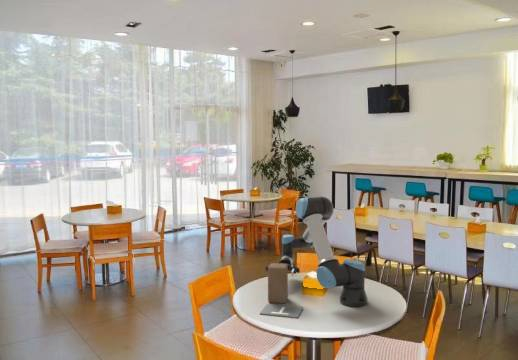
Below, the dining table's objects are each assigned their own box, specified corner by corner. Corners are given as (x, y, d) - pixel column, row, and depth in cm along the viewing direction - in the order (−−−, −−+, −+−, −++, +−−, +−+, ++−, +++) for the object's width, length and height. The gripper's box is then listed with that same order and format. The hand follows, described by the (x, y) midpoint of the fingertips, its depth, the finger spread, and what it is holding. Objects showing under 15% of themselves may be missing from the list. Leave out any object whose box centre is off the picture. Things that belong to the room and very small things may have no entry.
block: (285, 303, 258) (285, 268, 256) (267, 302, 260) (267, 267, 258) (287, 297, 268) (287, 263, 266) (270, 296, 270) (270, 262, 268)
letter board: (303, 308, 251) (303, 307, 251) (297, 318, 238) (297, 317, 237) (266, 305, 256) (266, 303, 256) (259, 314, 243) (259, 313, 243)
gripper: (305, 270, 291) (301, 281, 271) (265, 268, 296) (259, 278, 275) (305, 258, 291) (302, 268, 270) (265, 256, 295) (259, 265, 275)
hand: (280, 273), depth 273 cm, fingers open, 13 cm apart
